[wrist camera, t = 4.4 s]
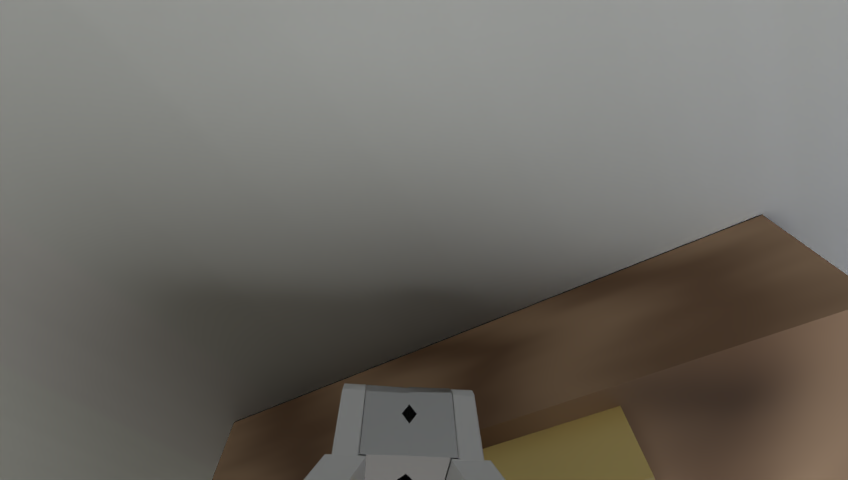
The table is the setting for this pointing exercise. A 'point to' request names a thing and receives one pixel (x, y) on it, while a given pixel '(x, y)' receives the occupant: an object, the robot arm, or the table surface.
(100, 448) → the table surface
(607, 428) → the yellow rectangular block
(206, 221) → the table surface
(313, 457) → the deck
